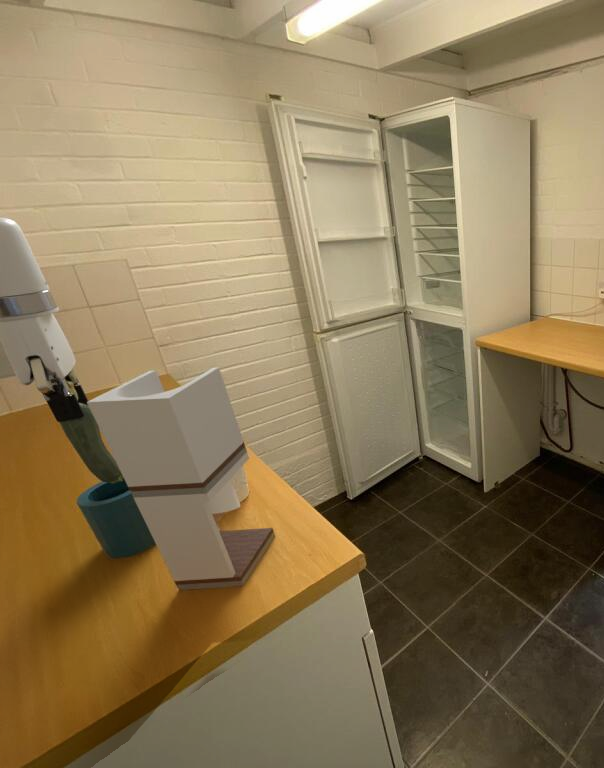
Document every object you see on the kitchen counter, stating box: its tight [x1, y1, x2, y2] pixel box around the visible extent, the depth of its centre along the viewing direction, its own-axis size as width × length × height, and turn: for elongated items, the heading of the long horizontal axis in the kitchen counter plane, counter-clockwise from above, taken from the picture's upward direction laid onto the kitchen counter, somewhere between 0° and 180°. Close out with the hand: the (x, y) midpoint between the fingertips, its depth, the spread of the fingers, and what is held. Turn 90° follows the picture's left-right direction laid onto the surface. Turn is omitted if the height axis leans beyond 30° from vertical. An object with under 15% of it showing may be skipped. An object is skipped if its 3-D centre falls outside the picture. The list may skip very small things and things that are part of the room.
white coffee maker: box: [87, 367, 276, 591], centre depth 68 cm, size 11×11×35 cm
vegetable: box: [59, 381, 124, 483], centre depth 72 cm, size 4×4×20 cm
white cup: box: [231, 465, 250, 504], centre depth 89 cm, size 8×8×10 cm
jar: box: [76, 478, 156, 559], centre depth 78 cm, size 10×10×12 cm
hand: (74, 412), depth 70 cm, fingers closed on vegetable, 4 cm apart
